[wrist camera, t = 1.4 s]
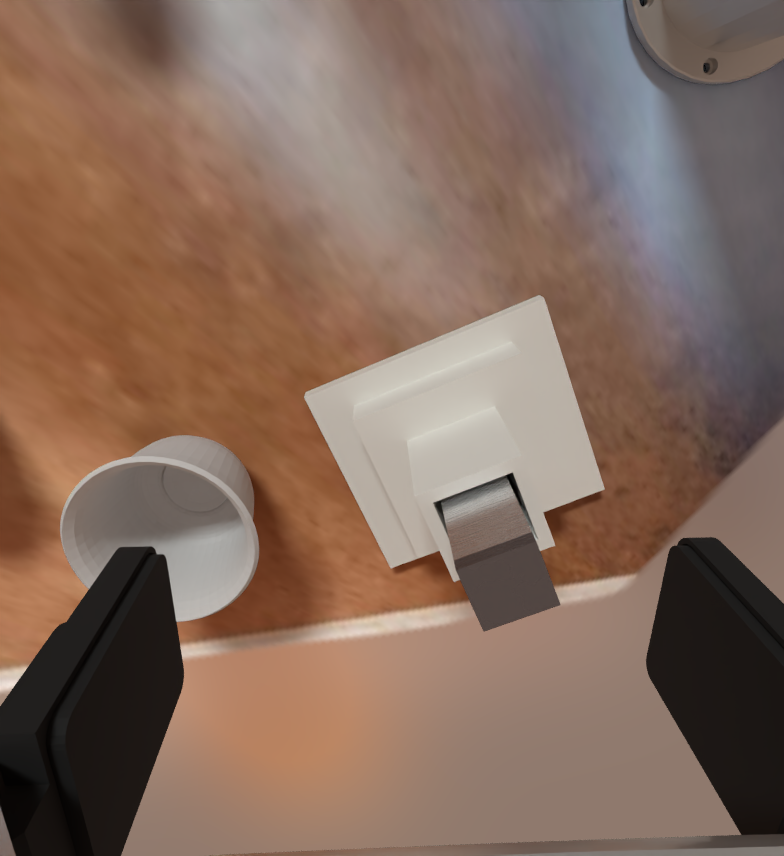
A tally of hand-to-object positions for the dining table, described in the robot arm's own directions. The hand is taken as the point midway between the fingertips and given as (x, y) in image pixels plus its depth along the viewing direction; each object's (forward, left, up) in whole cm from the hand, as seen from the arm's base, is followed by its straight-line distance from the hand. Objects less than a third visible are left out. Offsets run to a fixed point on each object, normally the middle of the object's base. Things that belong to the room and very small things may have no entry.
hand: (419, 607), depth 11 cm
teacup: (+19, +8, -33) cm, 39 cm away
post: (-1, +12, -31) cm, 33 cm away
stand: (-1, +12, -33) cm, 35 cm away
